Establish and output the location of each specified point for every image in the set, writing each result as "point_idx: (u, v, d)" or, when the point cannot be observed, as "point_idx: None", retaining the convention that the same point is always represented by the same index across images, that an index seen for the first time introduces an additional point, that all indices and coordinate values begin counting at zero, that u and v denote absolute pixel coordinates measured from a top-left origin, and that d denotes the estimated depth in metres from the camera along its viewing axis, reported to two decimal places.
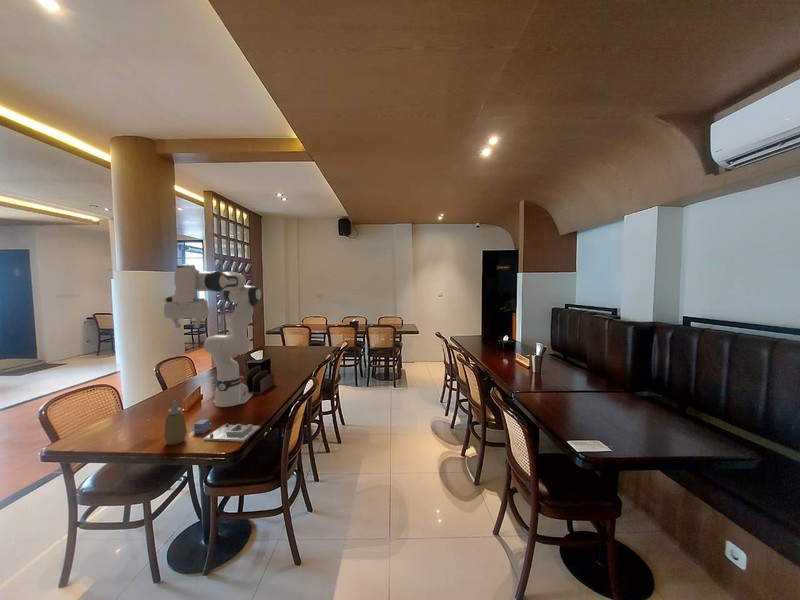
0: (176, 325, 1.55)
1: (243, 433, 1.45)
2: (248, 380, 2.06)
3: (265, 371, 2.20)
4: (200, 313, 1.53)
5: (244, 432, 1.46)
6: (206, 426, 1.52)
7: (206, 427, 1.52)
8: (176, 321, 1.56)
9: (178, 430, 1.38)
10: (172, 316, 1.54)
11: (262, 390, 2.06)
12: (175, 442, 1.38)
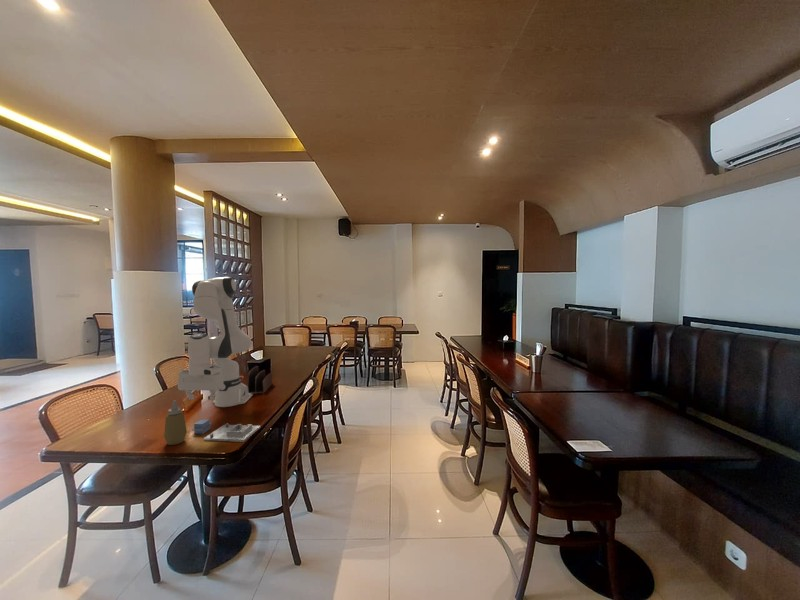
0: None
1: (243, 433, 1.45)
2: (249, 380, 2.06)
3: (263, 371, 2.21)
4: None
5: (244, 432, 1.46)
6: (206, 426, 1.52)
7: (206, 427, 1.52)
8: None
9: (178, 430, 1.38)
10: None
11: (264, 389, 2.07)
12: (175, 442, 1.38)
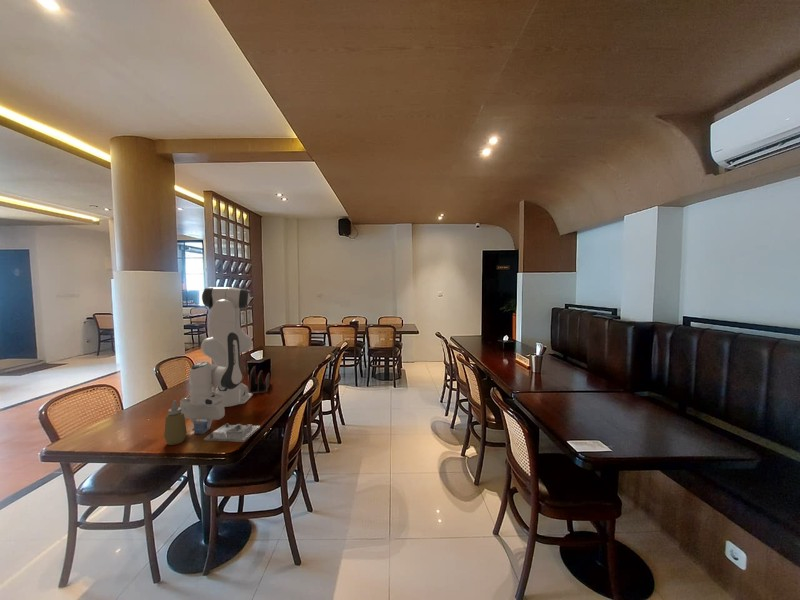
0: None
1: (243, 433, 1.45)
2: (251, 380, 2.06)
3: (261, 371, 2.21)
4: None
5: (244, 432, 1.46)
6: None
7: None
8: None
9: (178, 430, 1.38)
10: None
11: (266, 389, 2.08)
12: (175, 442, 1.38)
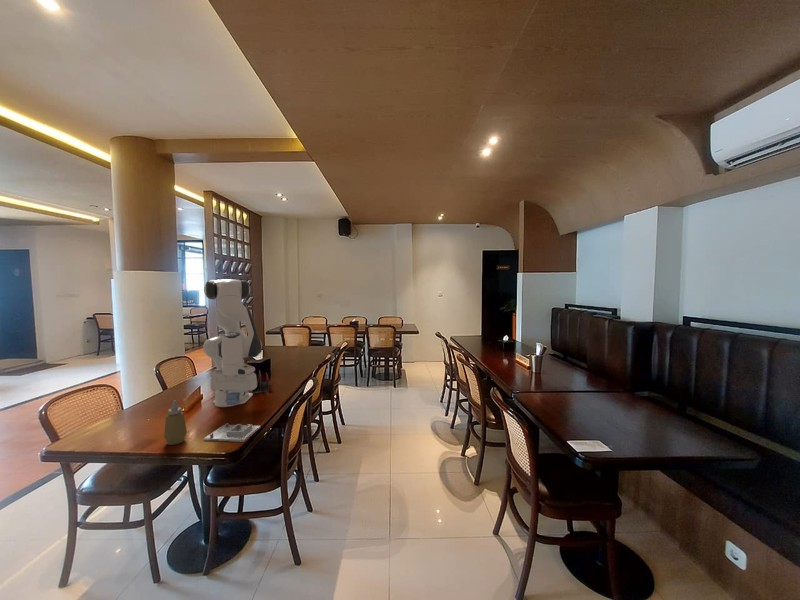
0: None
1: (243, 433, 1.45)
2: None
3: None
4: None
5: (244, 432, 1.46)
6: None
7: None
8: None
9: (178, 430, 1.38)
10: None
11: (268, 388, 2.10)
12: (175, 442, 1.38)
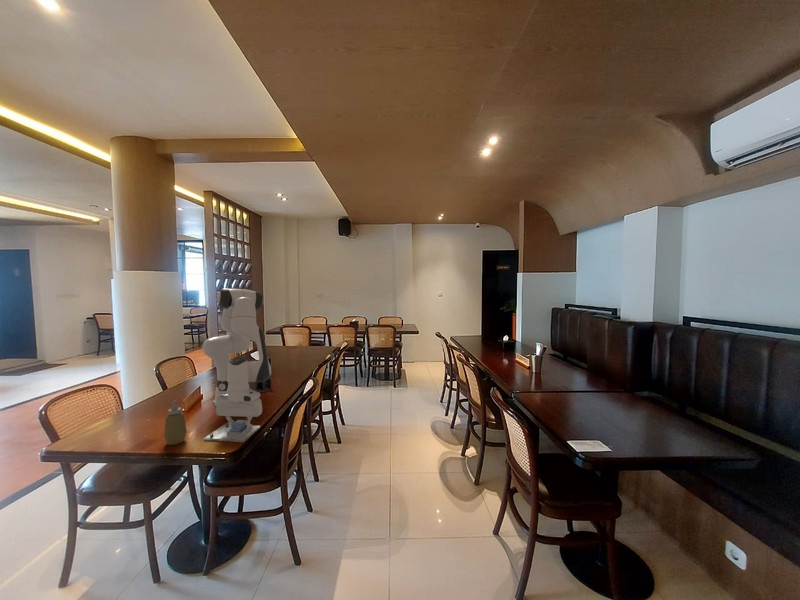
0: None
1: (243, 433, 1.45)
2: None
3: None
4: None
5: (244, 432, 1.46)
6: (243, 426, 1.48)
7: (243, 427, 1.48)
8: None
9: (178, 430, 1.38)
10: None
11: None
12: (175, 442, 1.38)
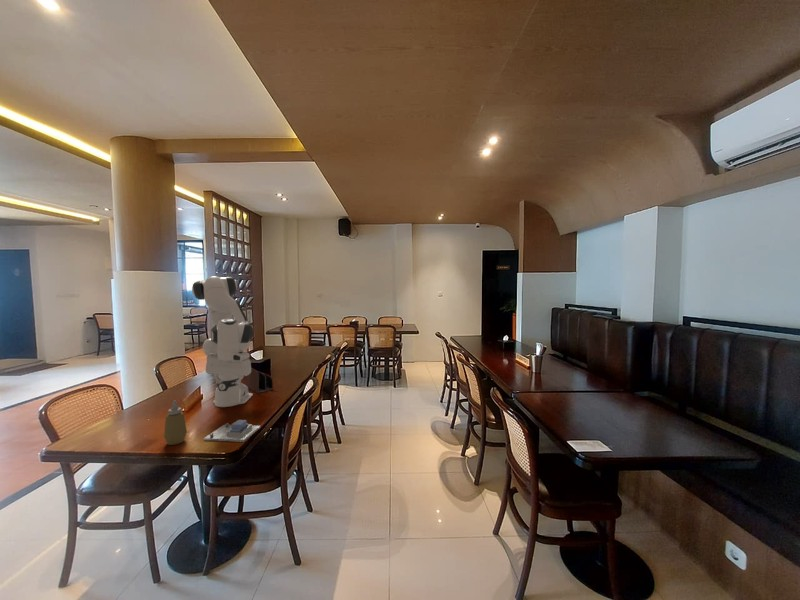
0: None
1: (243, 433, 1.45)
2: None
3: None
4: None
5: (244, 432, 1.46)
6: (243, 426, 1.48)
7: (243, 427, 1.48)
8: None
9: (178, 430, 1.38)
10: None
11: None
12: (175, 442, 1.38)
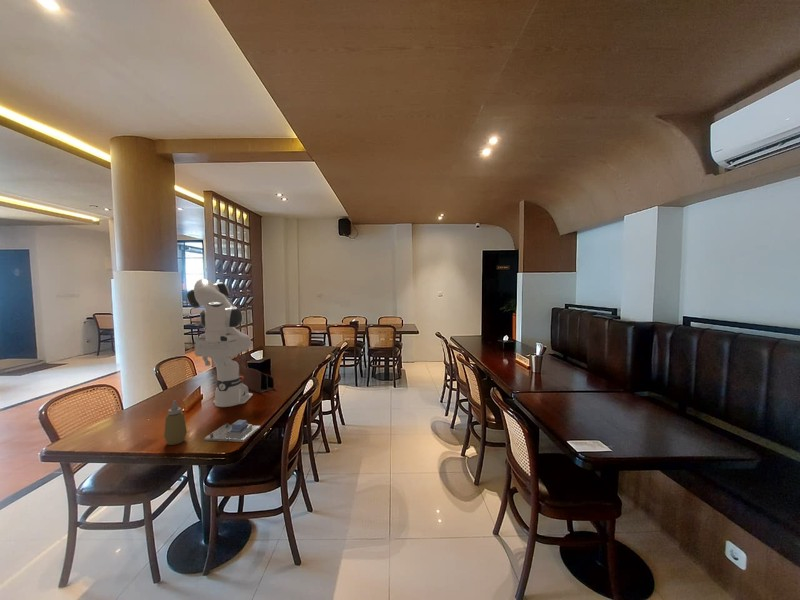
0: None
1: (243, 433, 1.45)
2: None
3: None
4: None
5: (244, 432, 1.46)
6: (243, 426, 1.48)
7: (243, 427, 1.48)
8: None
9: (178, 430, 1.38)
10: None
11: None
12: (175, 442, 1.38)
